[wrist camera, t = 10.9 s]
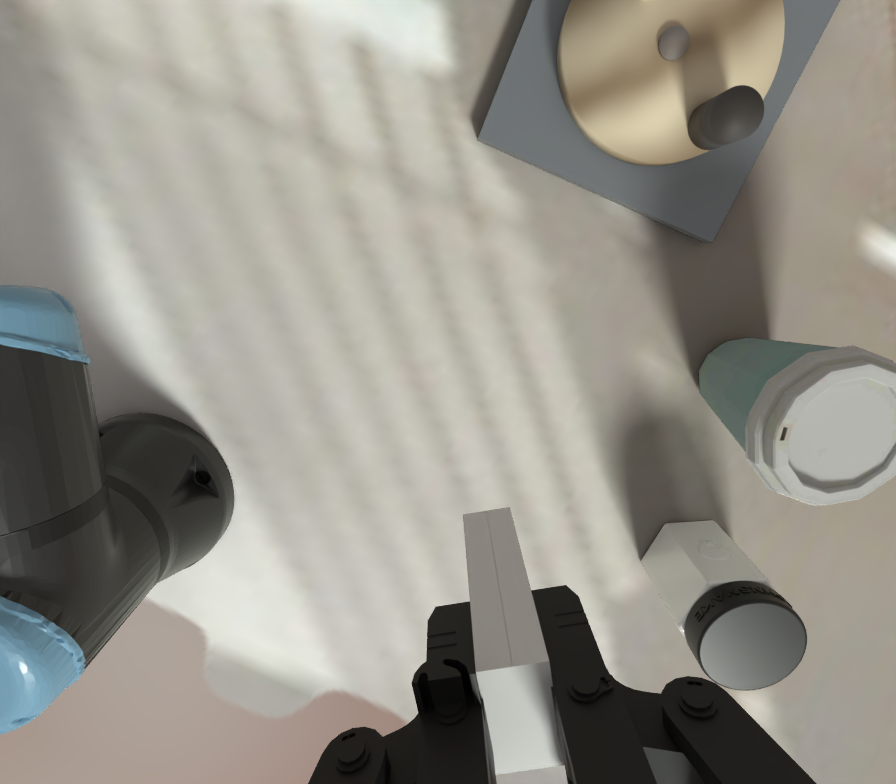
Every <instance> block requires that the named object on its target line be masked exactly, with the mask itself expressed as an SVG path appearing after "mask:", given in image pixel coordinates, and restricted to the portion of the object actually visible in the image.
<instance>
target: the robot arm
mask: <svg viewBox="0 0 896 784" xmlns="http://www.w3.org/2000/svg"><path fill="white" fill-rule="evenodd" d="M88 364H91V361H90V357H89V356H88V355H87V354H85V351H84V346H83V342H82V337H81V333H80V329H79V324H78V320H77V316H76V312H75V310H74V308H73V307H72V305H71V304H70V303H69V302H68V301H67V300H66V299H65V298H64V297H63V296H61V295H60V294H58V293H56V292H54V291H51V290H48V289H44V288H37V287H26V286H12V285H0V734H4V733H7V732H10V731H13V730H15V729H17V728H19V727H21V726H23V725H25V724H27V723H29V722H30V721H32V720H33V719H34V718H36V717H37V716H39V715H40V714H41V713H42V712H43V711H44V710H45V709H46V708H47V707H48V706H49V705H50V704H51V703H52V702H53V701H54V700H55V699H56V698H57V697H58V696H59V695H60V694H61V693H62V691H63V690H64V689H65V688H67V687H69V686H70V685H72V683H74V682H76V681H77V680H78V679H79V678H80V676H81V675H82V674H83V672H84V670H85V668H86V667H87V666H88V665H89V664H90V662H91V661H92V660H93V659H94V658H95V656H96V655H97V654H98V653H99V652H100V650H101V649H102V648H103V647H104V646H105V644H106V643H107V642H108V641H109V640H110V638H111V637H112V636H113V635H114V634H115V632H116V631H117V630H118V629H119V628H120V626H121V625H122V624H123V623H124V622H125V620H126V619H127V618H128V617H129V616H130V614H131V613H132V612H133V611H134V609H135V608H136V607H137V606H138V605H139V603H140V602H141V601H142V600H143V599H144V598H145V596H146V595H147V594H148V593H149V591H150V590H151V589H152V588H153V587H154V586H155V584H156V583H158V582H160V581H162V580H164V579H166V578H168V577H170V576H172V575H174V574H175V573H177V572H179V571H181V570H183V569H185V568H188V567H190V566H191V565H193V564H195V563H196V562H198V561H199V560H200V559H202V558H203V557H204V556H205V555H206V554H207V553H208V552H209V551H210V550H211V549H212V548H213V547H214V546H215V544H216V543H217V542H218V541H219V539H220V538H221V537H222V535H223V534H224V532H225V531H226V529H227V527H228V525H229V523H230V520H231V517H232V513H233V508H234V490H233V484H232V480H231V477H230V474H229V472H228V469H227V467H226V465H225V463H224V461H223V460H222V458H221V457H220V455H219V454H218V452H217V451H216V450H215V449H214V447H213V446H212V445H211V444H210V443H209V442H208V441H207V440H206V439H205V438H204V437H202V436H201V435H200V434H199V433H197V432H196V431H194V430H193V429H191V428H190V427H188V426H186V425H184V424H182V423H180V422H178V421H176V420H173V419H170V418H167V417H163V416H159V415H154V414H143V413H137V414H127V415H122V416H118V417H115V418H112V419H109V420H107V421H105V422H103V423H101V424H99V425H98V423H97V417H96V411H95V406H94V400H93V394H92V388H91V382H90V376H89V370H88ZM463 521H464V533H465V546H466V558H467V570H468V583H469V595H470V602H464V603H457V604H451V605H444V606H438V607H435V609H434V611H433V613H432V615H431V616H430V618H429V620H428V631H427V637H428V639H427V661H426V662H425V663H424V664H422V665H421V666H420V668H419V669H418V670H417V671H416V672H415V674H414V677H413V681H412V687H413V691H414V695H415V699H416V704H417V708H418V712H419V713H418V715H417V716H416V717H415V718H414V719H413V720H412V721H411V722H410V723H409V724H407V725H406V726H404V727H402V728H401V729H399V730H397V731H395V732H393V733H390V734H388V735H386V736H384V737H382V736H381V735H380V734H379V733H378V732H377V731H376V730H374V729H371V728H367V727H360V728H352V729H350V730H347V731H345V732H343V733H341V734H340V735H338V736H337V737H336V738H335V739H333V740H332V741H331V742H330V743H329V745H328V746H327V748H326V749H325V750H324V752H323V754H322V755H321V758H320V760H319V762H318V764H317V766H316V768H315V770H314V772H313V774H312V777H311V779H310V781H309V783H308V784H497V783H496V775H498V774H505V773H512V772H519V771H526V770H533V769H540V768H546V767H553V766H560V765H565V769H566V775H567V782H568V784H816V783H815V782H814V781H813V780H812V778H811V777H810V776H809V775H808V774H807V773H806V772H805V771H804V770H803V769H802V768H801V767H800V766H799V765H798V764H797V763H796V762H795V761H794V760H793V759H792V758H791V757H790V756H789V755H788V754H787V753H786V752H785V751H784V750H783V749H782V748H781V747H780V746H779V745H778V744H777V743H776V742H775V741H774V740H773V739H772V738H771V737H770V736H769V735H768V734H767V733H766V732H765V730H764V729H763V728H762V727H761V726H760V725H759V724H758V723H757V722H756V721H755V720H754V719H753V718H752V717H751V716H750V715H749V714H748V713H747V712H746V711H745V710H744V709H743V708H742V707H741V706H740V705H739V704H738V703H737V702H736V701H735V700H734V699H733V698H732V697H731V696H730V695H729V694H728V693H727V692H726V691H725V690H724V689H722V688H721V687H720V686H718V685H717V684H716V683H713V682H711V681H708V680H706V679H703V678H698V677H689V676H687V677H682V678H676V679H674V680H673V681H671V682H669V683H668V684H666V686H665V688H664V689H663V691H662V693H661V694H658V693H650V692H643V691H638V690H634V689H631V688H629V687H626V686H624V685H622V684H621V683H619V682H618V681H616V680H615V679H614V678H613V676H612V675H610V674H609V672H608V670H607V668H606V667H605V664H604V661H603V659H602V656H601V654H600V651H599V648H598V646H597V643H596V641H595V638H594V635H593V633H592V630H591V628H590V625H589V623H588V620H587V617H586V615H585V613H584V610H583V607H582V604H581V602H580V599H579V597H578V595H576V594H575V593H574V592H573V591H572V590H571V589H570V588H569V587H567V586H566V585H564V586H557V587H551V588H545V589H538V590H532V591H531V588H530V584H529V580H528V577H527V573H526V569H525V565H524V561H523V557H522V553H521V549H520V545H519V542H518V538H517V534H516V530H515V526H514V522H513V518H512V514H511V510H510V507H507V508H501V509H495V510H489V511H483V512H477V513H470V514H464V515H463Z"/></svg>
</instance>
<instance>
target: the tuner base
mask: <svg viewBox="0 0 896 784" xmlns="http://www.w3.org/2000/svg"><path fill="white" fill-rule="evenodd" d="M570 2H571V0H532V3H531V5H530V8H529V10H528V13H527V15H526V18H525V20H524V23H523V25H522V28H521V30H520V33H519V36H518V38H517V41H516V43H515V46H514V48H513V51H512V53H511V56H510V58H509V61H508V63H507V66H506V68H505V71H504V74H503V76H502V79H501V81H500V84H499V86H498V89H497V91H496V94H495V96H494V99H493V101H492V104H491V106H490V109H489V112H488V114H487V117H486V119H485V122H484V124H483V127H482V129H481V132H480V134H479V137H478V141H480V142H482V143H484V144H486V145H489V146H491V147H493V148H495V149H497V150H500V151H502V152H504V153H506V154H509V155H511V156H513V157H515V158H517V159H520V160H522V161H524V162H526V163H529V164H531V165H533V166H535V167H537V168H540V169H542V170H544V171H546V172H548V173H551V174H553V175H555V176H557V177H560V178H562V179H564V180H566V181H568V182H571V183H573V184H575V185H577V186H580V187H582V188H584V189H586V190H588V191H591V192H593V193H595V194H597V195H600V196H602V197H604V198H606V199H608V200H611V201H613V202H615V203H617V204H620V205H622V206H624V207H626V208H628V209H631V210H633V211H635V212H637V213H639V214H642V215H644V216H646V217H648V218H651V219H653V220H655V221H657V222H659V223H662V224H664V225H666V226H668V227H671V228H673V229H675V230H677V231H679V232H682V233H684V234H686V235H688V236H691V237H693V238H695V239H697V240H699V241H702V242H704V243H712V242H713V240H714V239H715V237H716V235H717V233H718V231H719V229H720V227H721V225H722V223H723V221H724V220H725V218H726V216H727V214H728V212H729V210H730V208H731V206H732V204H733V203H734V201H735V199H736V197H737V195H738V193H739V191H740V189H741V187H742V185H743V184H744V182H745V180H746V178H747V176H748V174H749V172H750V170H751V168H752V166H753V165H754V163H755V161H756V159H757V157H758V155H759V153H760V151H761V149H762V148H763V146H764V144H765V142H766V140H767V138H768V136H769V134H770V132H771V130H772V129H773V127H774V125H775V123H776V121H777V119H778V117H779V115H780V113H781V112H782V110H783V108H784V106H785V104H786V102H787V100H788V98H789V96H790V94H791V93H792V91H793V89H794V87H795V85H796V83H797V81H798V79H799V77H800V76H801V74H802V72H803V70H804V68H805V66H806V64H807V62H808V60H809V58H810V57H811V55H812V53H813V51H814V49H815V47H816V45H817V43H818V41H819V40H820V38H821V36H822V34H823V32H824V30H825V28H826V26H827V24H828V22H829V21H830V19H831V17H832V15H833V13H834V11H835V9H836V7H837V5H838V4H839V2H840V0H783V5H784V17H785V29H784V42H783V48H782V54H781V58H780V61H779V65H778V69H777V72H776V74H775V77H774V79H773V82H772V84H771V86H770V88H769V90H768V92H767V94H766V96H765V97H764V99H763V102H764V116H763V119H762V122H761V124H760V126H759V127H758V129H757V130H756V131H755V132H754V133H753V134H752V135H750V136H749V137H747V138H745V139H742V140H739V141H736V142H733V143H730V144H727V145H725V146H722V147H719V148H716V149H712V150H710V151H708V152H706V153H703V154H701V155H698V156H696V157H693V158H690V159H687V160H684V161H681V162H677V163H673V164H669V165H661V166H641V165H635V164H629V163H626V162H623V161H620V160H617V159H615V158H613V157H611V156H609V155H607V154H605V153H604V152H602V151H601V150H599V149H598V148H597V147H595V146H594V145H593V144H592V143H591V142H590V141H589V140H588V139H586V137H585V136H584V135H583V134H582V133H581V131H580V130H579V129H578V128H577V126H576V125H575V123H574V121H573V120H572V118H571V116H570V114H569V112H568V110H567V108H566V105H565V103H564V100H563V97H562V93H561V90H560V85H559V79H558V69H557V53H558V42H559V36H560V31H561V27H562V23H563V20H564V17H565V14H566V11H567V9H568V7H569V4H570Z"/></svg>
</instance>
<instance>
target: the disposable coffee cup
mask: <svg viewBox="0 0 896 784" xmlns="http://www.w3.org/2000/svg"><path fill="white" fill-rule="evenodd" d="M699 388H700V394H701V395H702V397H703V398H704V399H705V401H706V402H707V404H708V405H709V406H710V408H711V409H712V410H713V411H714V413H715V414H716V415H717V416H718V418H719V419H720V420H721V422H722V423H723V424H724V425H725V427H726V428H727V429H728V430H729V432H730V433H731V434H732V435H733V437H734V438H735V439H736V441H737V442H738V443H739V444H740V446H741V447H742V448H743V449H744V451H745V452H746V460H747V461H748V462H749V464H750V465H751V466H752V468H753V469H754V471H755V472H756V473H757V475H758V476H759V477H760V479H761V480H762V481H763V483H764V484H765V485H766V487H767V488H768V489H771V490H773V491H775V492H776V493H778V494H781V495H784V496H787V497H790V498H793V499H795V500H798V501H801V502H804V503H807V504H809V505H812V506H816V505H823V506H824V505H829V504H835V503H840V502H846V501H851V500H856V499H861V498H863V497H864V496H866V495H867V494H869V493H870V492H872V491H873V490H875V489H876V488H878V487H879V486H881V485H882V484H884V483H885V482H887V481H888V480H890V479H891V478H893V477H894V476H896V364H895V363H894V362H893V361H892V360H890V359H887V358H884V357H882V356H879V355H877V354H874V353H871V352H869V351H866V350H864V349H861V348H859V347H856V346H847V347H841V348H838V347H829V346H820V345H811V344H802V343H793V342H784V341H775V340H766V339H757V338H743V339H737V340H731V341H727V342H725V343H723V344H721V345H720V346H719V347H717V348H716V349H714V350H713V351H712V352H710V353H709V354H708V355H707V357H706V359H705V360H704V362H703V364H702V366H701V368H700V370H699Z"/></svg>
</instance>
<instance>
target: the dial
mask: <svg viewBox="0 0 896 784" xmlns="http://www.w3.org/2000/svg"><path fill="white" fill-rule="evenodd" d="M784 29H785V17H784V5H783V0H571V2H570V4H569V7H568V9H567V11H566V14H565V17H564V20H563V23H562V27H561V31H560V36H559V42H558V53H557V69H558V79H559V85H560V90H561V93H562V97H563V100H564V103H565V105H566V108H567V110H568V112H569V114H570V116H571V118H572V120H573V121H574V123H575V125H576V126H577V128H578V129H579V130H580V131H581V133H582V134H583V135H584V136H585V137H586V139H588V140H589V141H590V142H591V143H592V144H593V145H594V146H595V147H597V148H598V149H599V150H601V151H602V152H604V153H605V154H607V155H609V156H611V157H613V158H615V159H617V160H620V161H623V162H626V163H629V164H635V165H641V166H661V165H669V164H673V163H677V162H681V161H684V160H687V159H690V158H693V157H696V156H698V155H701V154H703V153H706V152H708V151H710V150H712V149H716V148H719V147H722V146H725V145H727V144H730V143H733V142H736V141H739V140H742V139H745V138H747V137H749V136H750V135H752V134H753V133H754V132H755V131H756V130H757V129H758V127H759V126H760V124H761V122H762V119H763V116H764V102H763V99H764V97H765V96H766V94H767V92H768V90H769V88H770V86H771V84H772V82H773V79H774V77H775V74H776V72H777V69H778V65H779V61H780V58H781V54H782V48H783V42H784Z"/></svg>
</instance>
